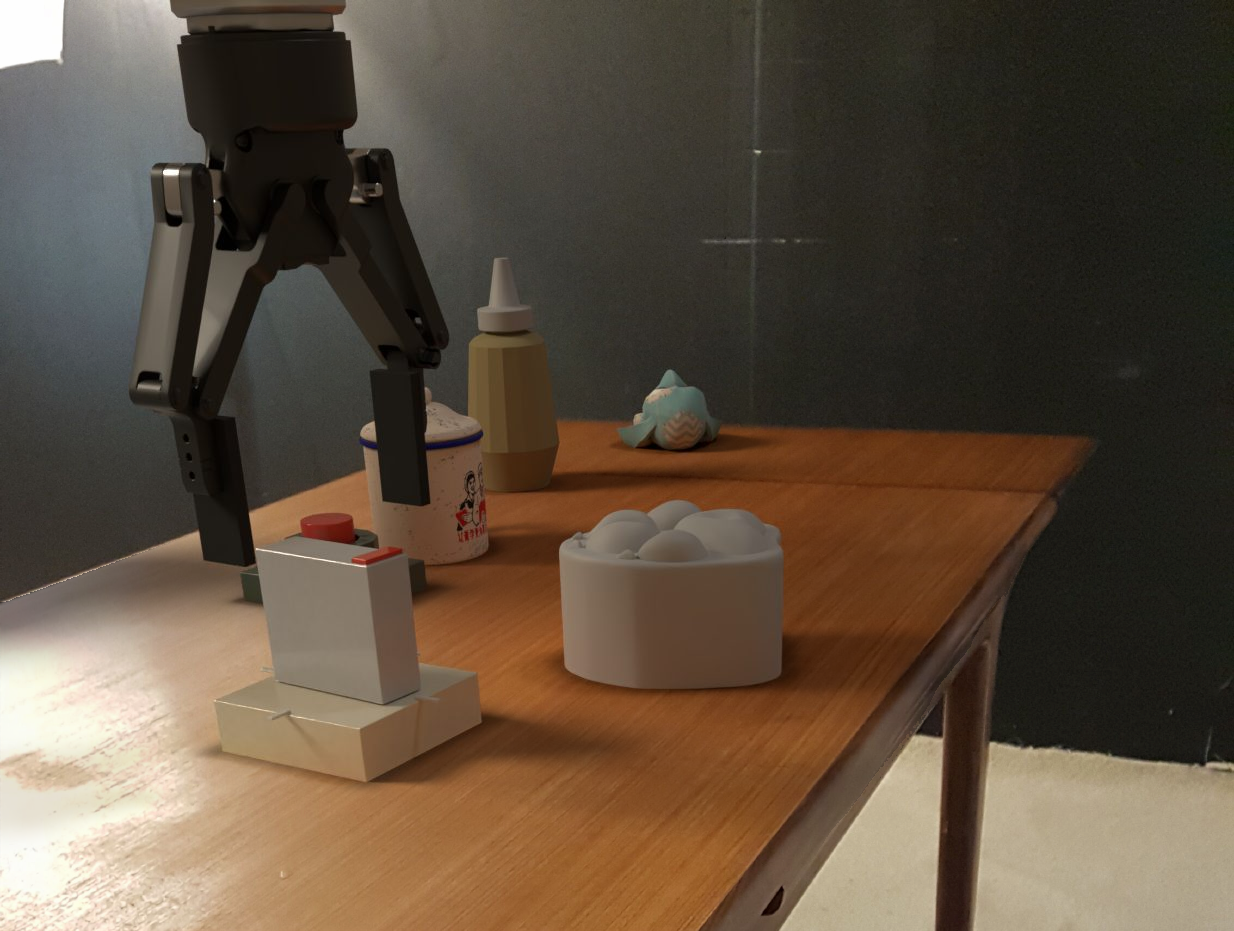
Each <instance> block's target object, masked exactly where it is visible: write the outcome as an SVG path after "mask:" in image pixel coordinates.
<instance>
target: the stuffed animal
mask: <svg viewBox="0 0 1234 931" xmlns="http://www.w3.org/2000/svg"><path fill="white" fill-rule="evenodd" d="M632 421H633V424H631V425H629V426H625V427H617V428H615V430H616V432H617V433H618V435H619V437H620V439H621V440H622V442H623V443H624V444H626V445H628V446H629V447H631V448H634V449H635V448H646V447H650V446H654V445H657V446H658V447H660V448H661V449H664V450H667V451H685V450H689V449H691V448H693V447H695V446H696V444H700V443H712V442H713V441H714V440H715V438H716V437H717V436H718V434H719V433H720V430H721V428H722V425H723V422H724V420H723V419H717V418H715V417H713V416H711V415H710V413H709V411H708V405H707V402H706V397H705V394H704V392H702V390H700V389H699V388H698V387H695V386H692V385H688V384H686V383H685V382H684V381H683V379H682V378H681V376H679V375H678V374H677V372H675V370H673V369H667V370H666V372H665V373H664V375H663V376H662V378H661V380H660V382H659V384H658V385H657V386H656V387H655V389H653V390H652V391H651V392H650V393H648V395H647V396H646V397H645V399H644V401H643V404H642V412H639V413H635V415H634V417H633V420H632Z"/></svg>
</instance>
